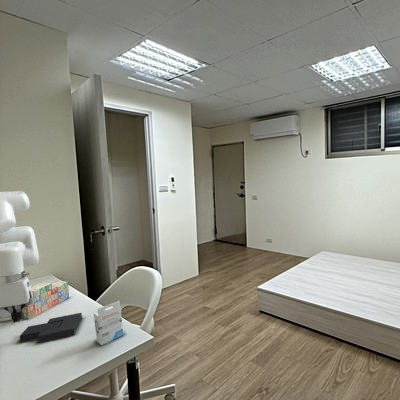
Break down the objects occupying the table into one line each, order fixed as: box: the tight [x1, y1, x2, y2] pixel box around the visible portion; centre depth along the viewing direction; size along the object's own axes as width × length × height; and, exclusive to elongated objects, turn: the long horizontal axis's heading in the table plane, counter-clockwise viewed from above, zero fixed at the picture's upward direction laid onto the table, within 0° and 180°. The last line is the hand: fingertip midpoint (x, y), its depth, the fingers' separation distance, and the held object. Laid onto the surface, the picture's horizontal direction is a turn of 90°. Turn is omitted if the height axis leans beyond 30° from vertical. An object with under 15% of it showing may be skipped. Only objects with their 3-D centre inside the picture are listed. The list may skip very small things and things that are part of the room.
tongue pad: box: [19, 321, 63, 343], centre depth 110 cm, size 12×7×3 cm, turn 109°
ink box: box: [93, 300, 124, 346], centre depth 105 cm, size 8×5×15 cm, turn 140°
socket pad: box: [37, 312, 83, 344], centre depth 113 cm, size 12×14×3 cm
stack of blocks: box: [21, 280, 70, 320], centre depth 133 cm, size 21×6×12 cm, turn 168°
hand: (17, 320), depth 108 cm, fingers closed
